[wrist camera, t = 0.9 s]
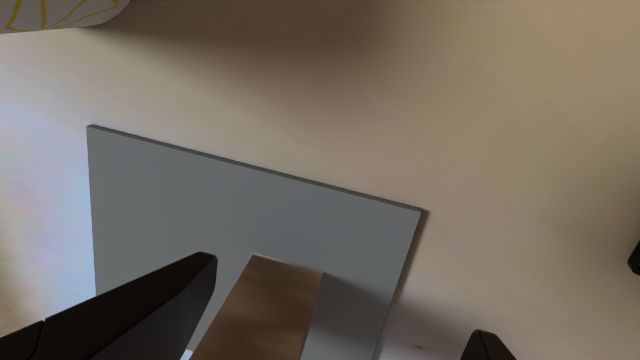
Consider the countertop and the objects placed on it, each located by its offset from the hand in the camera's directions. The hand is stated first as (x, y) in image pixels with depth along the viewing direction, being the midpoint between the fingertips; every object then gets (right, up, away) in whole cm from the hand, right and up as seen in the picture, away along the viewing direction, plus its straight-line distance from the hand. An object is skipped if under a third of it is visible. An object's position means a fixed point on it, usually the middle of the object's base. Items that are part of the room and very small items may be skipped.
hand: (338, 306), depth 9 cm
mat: (-5, -3, +16) cm, 17 cm away
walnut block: (-2, -4, +15) cm, 16 cm away
